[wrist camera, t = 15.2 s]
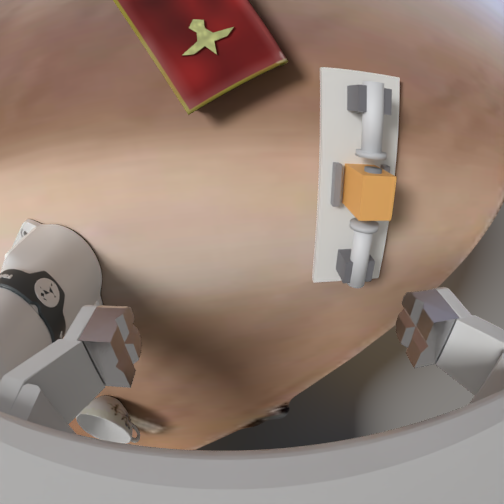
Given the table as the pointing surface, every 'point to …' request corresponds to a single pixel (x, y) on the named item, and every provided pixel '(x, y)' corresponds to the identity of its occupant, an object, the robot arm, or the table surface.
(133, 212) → the table surface
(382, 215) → the block
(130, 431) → the teacup
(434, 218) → the table surface
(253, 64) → the hardcover book
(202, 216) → the table surface
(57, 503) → the robot arm
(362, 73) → the shaft rig
